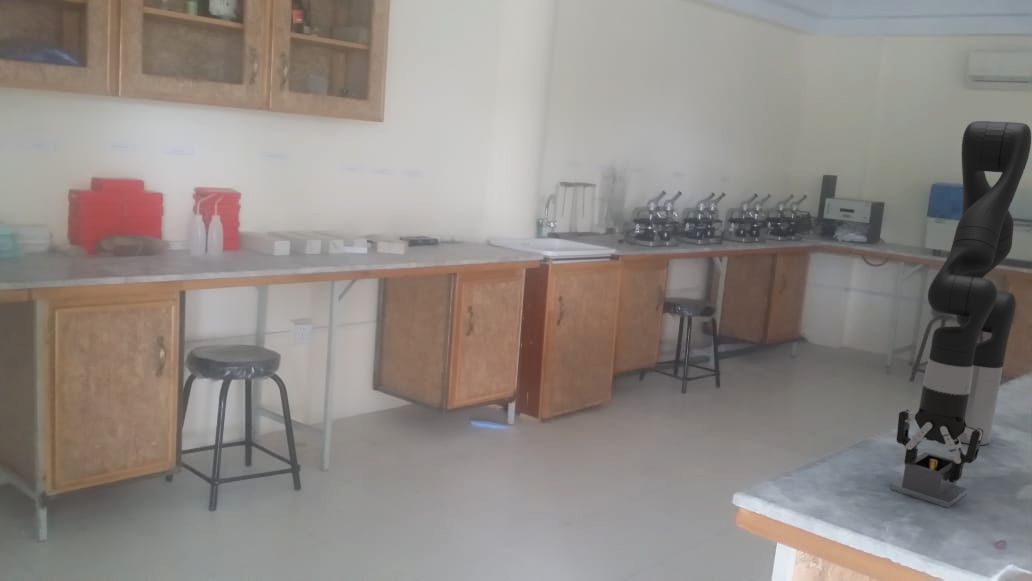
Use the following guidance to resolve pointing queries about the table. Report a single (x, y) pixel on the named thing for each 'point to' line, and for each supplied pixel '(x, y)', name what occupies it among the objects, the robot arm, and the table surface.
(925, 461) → the grey storage bin
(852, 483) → the table surface
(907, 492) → the peg plate
